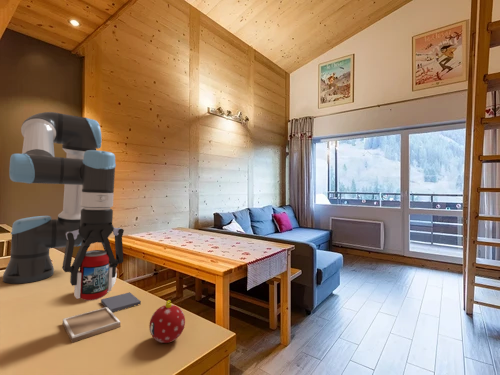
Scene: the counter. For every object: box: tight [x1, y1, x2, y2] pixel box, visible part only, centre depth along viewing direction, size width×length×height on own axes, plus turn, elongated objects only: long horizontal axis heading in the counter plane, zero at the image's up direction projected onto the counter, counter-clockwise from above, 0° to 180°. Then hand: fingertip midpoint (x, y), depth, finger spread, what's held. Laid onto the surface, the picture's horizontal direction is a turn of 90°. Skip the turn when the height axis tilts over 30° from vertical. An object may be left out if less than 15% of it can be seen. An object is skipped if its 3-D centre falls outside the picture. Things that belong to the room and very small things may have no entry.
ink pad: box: [100, 292, 141, 313], centre depth 84 cm, size 9×9×1 cm
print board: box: [62, 306, 121, 343], centre depth 71 cm, size 11×11×1 cm
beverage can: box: [79, 249, 110, 302], centre depth 70 cm, size 7×7×12 cm
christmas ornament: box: [148, 299, 186, 344], centre depth 66 cm, size 9×9×10 cm
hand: (93, 292), depth 71 cm, fingers closed on beverage can, 7 cm apart
